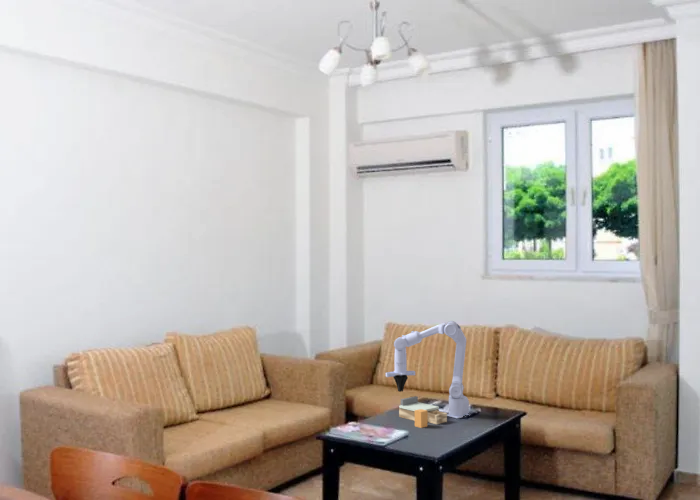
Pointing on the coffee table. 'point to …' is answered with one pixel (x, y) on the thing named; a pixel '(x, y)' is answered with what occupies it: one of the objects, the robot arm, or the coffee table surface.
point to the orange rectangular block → (421, 418)
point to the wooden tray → (432, 416)
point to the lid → (415, 404)
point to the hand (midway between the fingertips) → (400, 391)
